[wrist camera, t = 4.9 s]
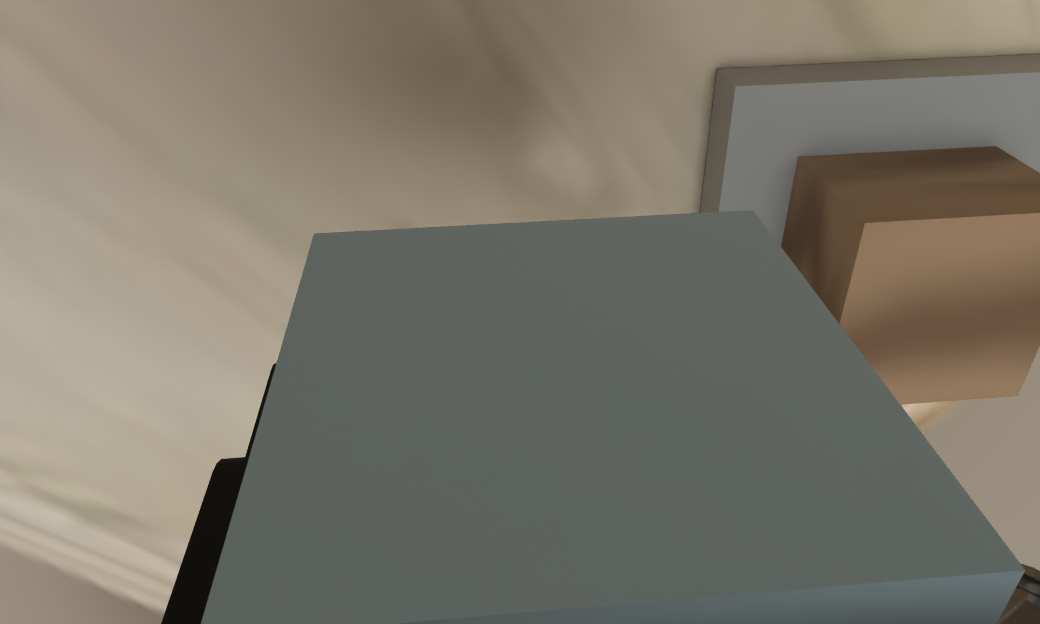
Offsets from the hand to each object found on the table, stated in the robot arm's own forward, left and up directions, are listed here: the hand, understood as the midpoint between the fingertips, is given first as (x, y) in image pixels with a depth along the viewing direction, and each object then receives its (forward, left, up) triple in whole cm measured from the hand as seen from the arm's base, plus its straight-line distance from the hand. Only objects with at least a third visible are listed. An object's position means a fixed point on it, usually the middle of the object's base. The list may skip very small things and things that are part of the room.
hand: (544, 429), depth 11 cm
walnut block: (+6, +14, -15) cm, 22 cm away
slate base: (+6, +14, -17) cm, 23 cm away
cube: (0, 0, -1) cm, 1 cm away
